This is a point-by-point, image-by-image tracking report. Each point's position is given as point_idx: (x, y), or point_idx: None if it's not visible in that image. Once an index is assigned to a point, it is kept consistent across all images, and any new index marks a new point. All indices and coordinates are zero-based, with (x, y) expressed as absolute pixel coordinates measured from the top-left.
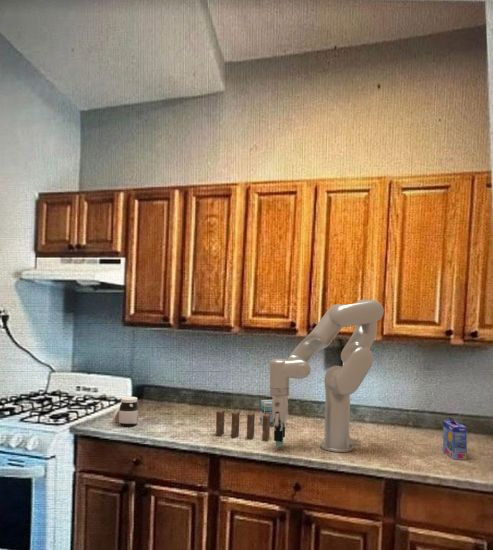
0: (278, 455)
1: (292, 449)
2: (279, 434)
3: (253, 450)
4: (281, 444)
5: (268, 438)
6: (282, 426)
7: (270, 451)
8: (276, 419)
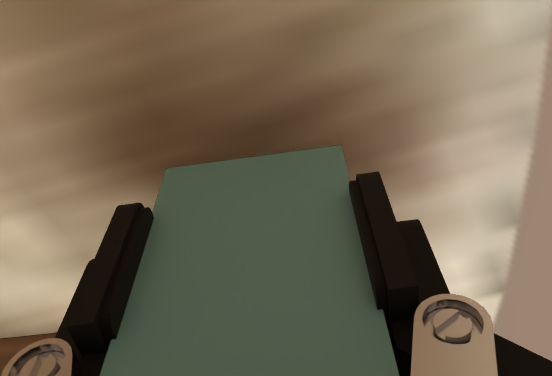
0: (532, 97)
1: (202, 7)
2: (440, 275)
3: None
4: (313, 162)
5: (10, 344)
6: (194, 364)
7: (405, 215)
8: None
